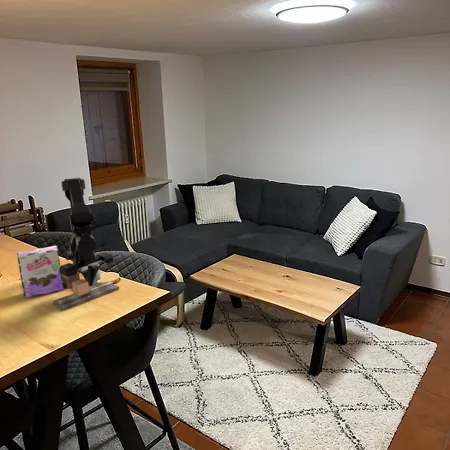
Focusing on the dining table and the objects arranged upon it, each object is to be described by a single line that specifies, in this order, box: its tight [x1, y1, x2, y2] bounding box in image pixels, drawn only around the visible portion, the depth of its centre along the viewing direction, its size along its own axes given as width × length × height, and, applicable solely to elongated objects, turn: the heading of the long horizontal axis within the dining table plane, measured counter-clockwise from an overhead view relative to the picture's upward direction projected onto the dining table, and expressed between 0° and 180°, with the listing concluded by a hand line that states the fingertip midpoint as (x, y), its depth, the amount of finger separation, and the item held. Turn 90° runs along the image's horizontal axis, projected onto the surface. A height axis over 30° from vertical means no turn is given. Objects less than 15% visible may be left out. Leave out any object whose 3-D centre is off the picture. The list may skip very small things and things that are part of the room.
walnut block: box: [62, 272, 81, 289], centre depth 163 cm, size 5×5×5 cm
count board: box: [51, 281, 120, 311], centre depth 152 cm, size 22×8×2 cm, turn 138°
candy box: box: [16, 245, 65, 299], centre depth 155 cm, size 14×6×16 cm, turn 117°
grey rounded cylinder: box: [84, 263, 102, 287], centre depth 164 cm, size 6×6×7 cm
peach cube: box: [71, 278, 90, 296], centre depth 150 cm, size 4×4×4 cm
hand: (90, 285), depth 152 cm, fingers closed
